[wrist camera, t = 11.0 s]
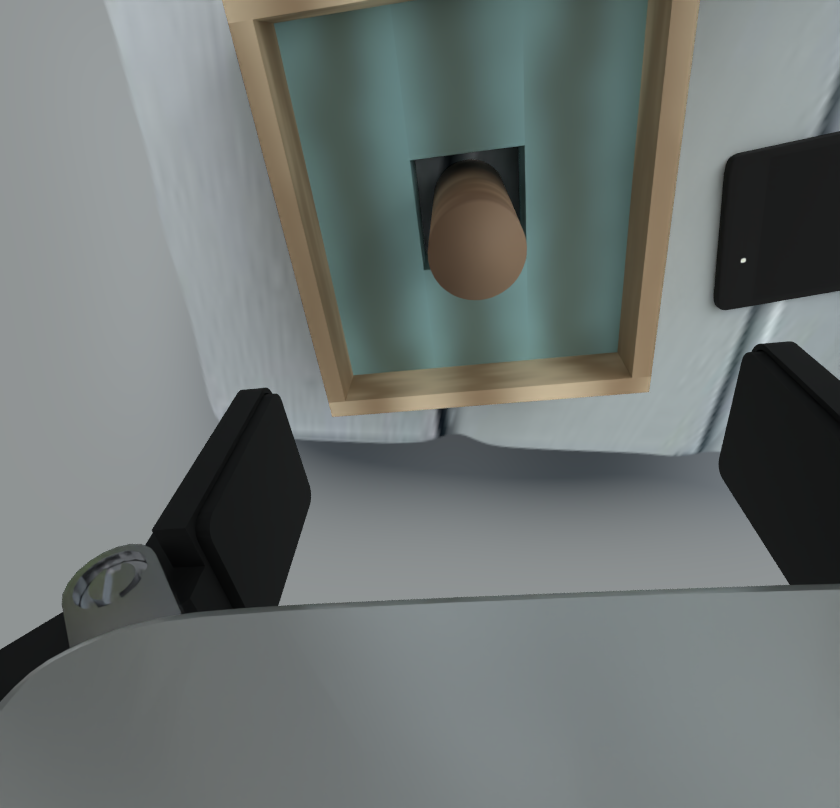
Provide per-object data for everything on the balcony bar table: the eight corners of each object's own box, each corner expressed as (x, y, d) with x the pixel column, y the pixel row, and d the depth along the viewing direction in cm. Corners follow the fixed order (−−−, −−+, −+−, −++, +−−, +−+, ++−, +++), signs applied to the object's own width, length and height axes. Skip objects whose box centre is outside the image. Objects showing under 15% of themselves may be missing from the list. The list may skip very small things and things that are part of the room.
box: (655, -62, 23) (711, -94, 18) (619, 342, 34) (648, 391, 29) (265, 4, 25) (219, -9, 20) (348, 366, 36) (332, 416, 31)
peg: (503, 154, 28) (526, 196, 20) (506, 229, 31) (527, 295, 22) (430, 164, 29) (421, 208, 21) (437, 237, 31) (433, 304, 23)
